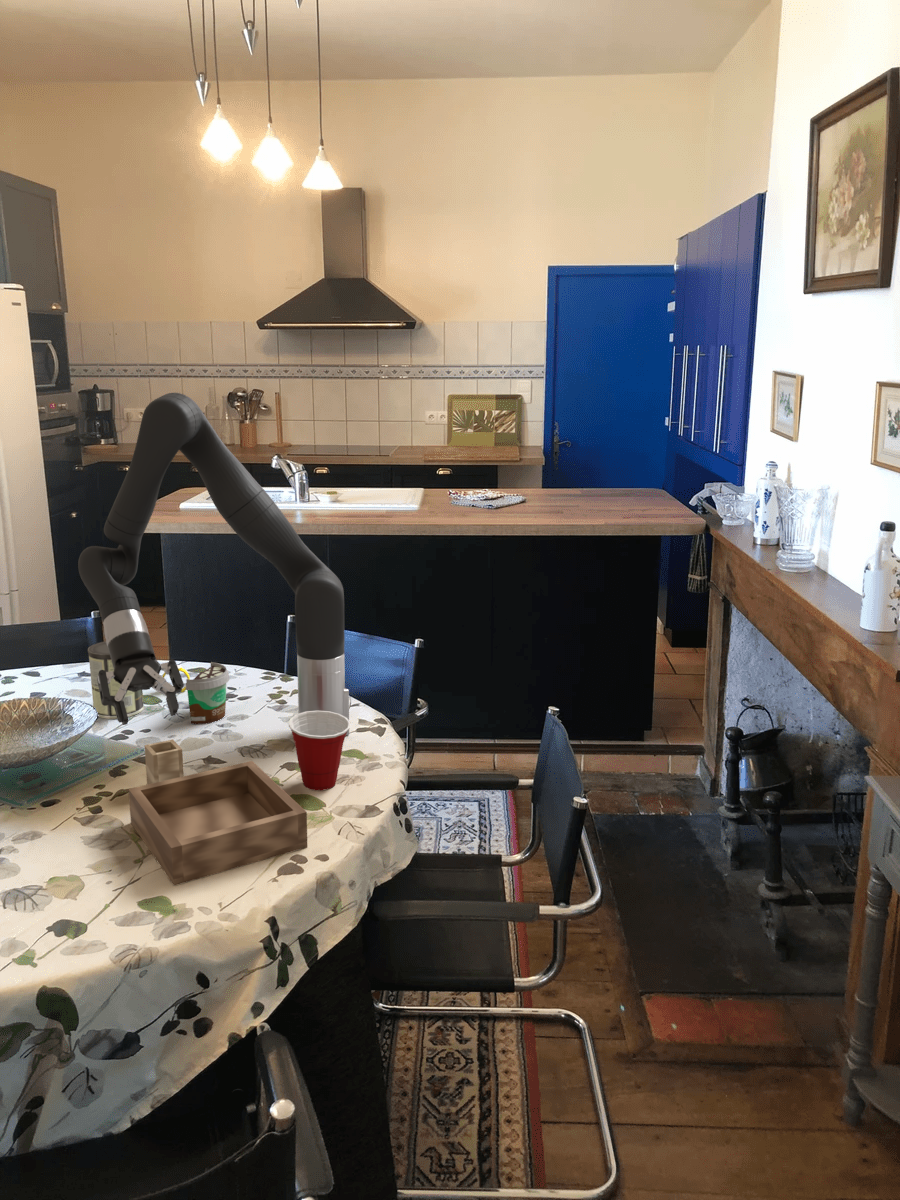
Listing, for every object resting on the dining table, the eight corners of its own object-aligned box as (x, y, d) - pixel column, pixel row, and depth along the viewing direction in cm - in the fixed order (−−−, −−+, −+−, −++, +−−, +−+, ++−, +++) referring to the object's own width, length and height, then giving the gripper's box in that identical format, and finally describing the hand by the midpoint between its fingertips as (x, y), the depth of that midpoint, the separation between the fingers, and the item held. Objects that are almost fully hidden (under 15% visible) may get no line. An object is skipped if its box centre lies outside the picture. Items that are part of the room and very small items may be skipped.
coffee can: (122, 698, 209) (117, 636, 205) (154, 708, 204) (150, 645, 200) (82, 712, 200) (76, 648, 197) (114, 723, 195) (109, 657, 192)
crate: (253, 792, 166) (252, 760, 164) (307, 847, 148) (306, 812, 147) (130, 822, 155) (128, 788, 153) (173, 885, 137) (171, 848, 136)
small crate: (175, 781, 170) (173, 739, 168) (184, 791, 166) (182, 749, 164) (147, 787, 167) (144, 745, 165) (155, 798, 163) (153, 755, 161)
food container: (215, 729, 193) (213, 682, 190) (187, 726, 194) (185, 680, 191) (240, 708, 205) (238, 663, 202) (213, 705, 206) (211, 661, 203)
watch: (189, 690, 215) (190, 665, 214) (189, 694, 213) (189, 669, 211) (162, 689, 214) (162, 664, 213) (161, 693, 212) (161, 668, 210)
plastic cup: (325, 803, 163) (324, 738, 159) (277, 787, 168) (275, 724, 165) (363, 780, 171) (363, 718, 168) (316, 766, 177) (315, 705, 174)
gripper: (90, 635, 169) (112, 716, 163) (170, 624, 177) (193, 701, 170) (85, 655, 175) (106, 735, 168) (163, 644, 182) (185, 720, 176)
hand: (150, 718), depth 169 cm, fingers open, 8 cm apart
